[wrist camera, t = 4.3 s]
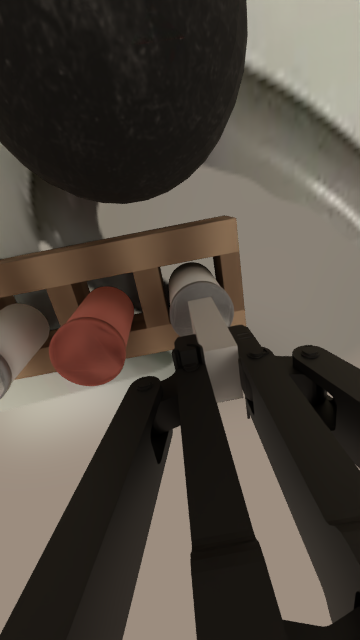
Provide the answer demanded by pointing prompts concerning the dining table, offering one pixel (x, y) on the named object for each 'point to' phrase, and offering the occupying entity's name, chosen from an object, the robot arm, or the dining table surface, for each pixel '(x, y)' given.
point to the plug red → (94, 338)
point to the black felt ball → (118, 90)
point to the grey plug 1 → (19, 340)
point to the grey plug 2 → (195, 295)
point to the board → (119, 258)
